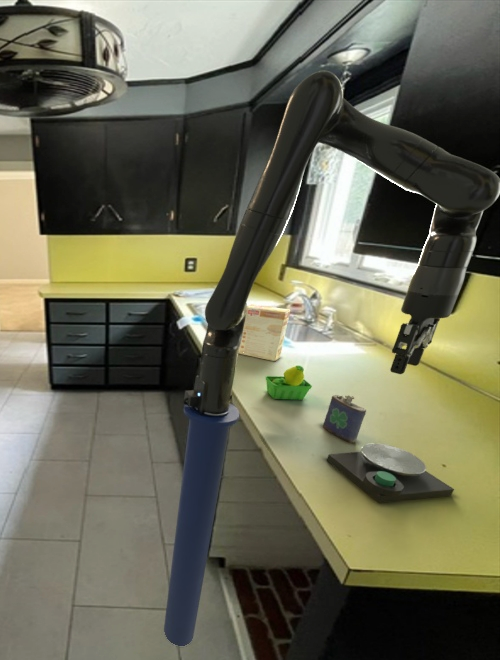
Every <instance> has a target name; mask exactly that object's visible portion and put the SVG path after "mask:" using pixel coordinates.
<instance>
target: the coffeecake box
mask: <svg viewBox="0 0 500 660" xmlns="http://www.w3.org/2000/svg"><path fill="white" fill-rule="evenodd" d="M290 313H291V309H289V308H281V307H280V308H279V307H273V306H264V305H257V304H250V305H247V312H246V318H245V324H244V329H243V335H242V340H241V344H240V347H239V352H238V355H243V356H244V355H245V356H249V357H253V358H259V359H263V360H268V361H272V362H276V361H278V360H279V359H280V358H281V355H282V351H283V346H284V341H285V336H286V331H287V327H288V323H289V318H290ZM243 352H244V353H243Z"/></svg>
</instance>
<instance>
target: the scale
mask: <svg viewBox="0 0 500 660" xmlns="http://www.w3.org/2000/svg"><path fill="white" fill-rule="evenodd" d="M326 461H327V462H329V464H331V465H332V466H333V467H334V468H336V469H337V470H338V471H339V472H340V473H342V474H343V475H344V476H346V477H347V478H348V479H349V480H350V481H352V482H353V483H354V484H355V485H357V487H358V488H360V489H362V490H363V491H364V493H366V494H367V495H369V496H370V497H371V498H372V499H373V500H374V501H376V503H378V504H381V503H392V502H400V501H401V502H402V501H411V500H421V499H431V498H432V499H433V498H440V497H441V498H442V497H450V496H451V497H452V495H453V493H454V491H455V488H454V487H452V486H450V485H448V484H447V483H445V482H444V481H442V480H441V479H440V478H437V477H436V476H435V475H433V474H431V473H430V472H429V471H427V470H425V472H424V473H423V474H422V475H419V476H404V475H399V474H395V473H391V472H388V471H385V470H383V469H380V468H378V467H376V466H374V465H373V464H371V463H370V462H368V461H367V460H366V459H365V458H364V457H363V456H362V455H361V451H352V452H351V451H350V452H339V453H338V452H337V453H328V455H327V458H326ZM378 471H384V472H387V473H390V474H392V475H393V476H394V477H395V478H396V480H395V483H394V485H393V487H387V486H383V485H381V484H379V483H377V482H376V481H375V480H374V479H375V476H376V474H377V472H378Z"/></svg>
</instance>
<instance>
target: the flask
mask: <svg viewBox="0 0 500 660" xmlns="http://www.w3.org/2000/svg"><path fill="white" fill-rule="evenodd" d="M353 400H355V397H354V395H351V396H350V395H347V394H346V395H337V394H334V395H332V396H331V399H330V402H329V405H328V409H327V412H326V415H325V418H324V421H323V424H322V427H323V428H324V429H325V430H326V431H327V432H329V433H330V434H332V435H334V436H336V437H338V438H339V439H341V440H342V441H344V442H347V443H349V444H355V443H356V442H357V439H358V436H359V433H360V430H361V427H362V424H363V422H364V418H365V416H366V414H367V409H366V408H364V407H362V406H359V405H358V404H355V403H353Z"/></svg>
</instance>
